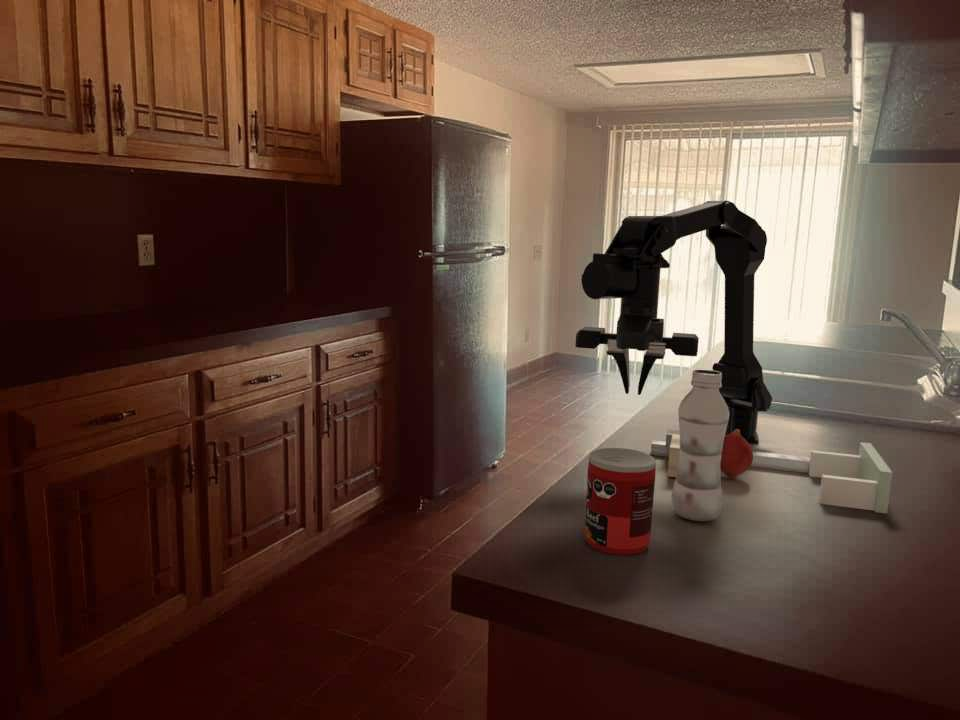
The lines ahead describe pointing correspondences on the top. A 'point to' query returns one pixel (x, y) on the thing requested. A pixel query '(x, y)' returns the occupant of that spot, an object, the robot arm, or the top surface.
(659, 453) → the rail
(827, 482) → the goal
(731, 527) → the top surface
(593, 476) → the canned food
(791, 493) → the top surface
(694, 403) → the plastic bottle
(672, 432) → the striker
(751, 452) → the red round solid
